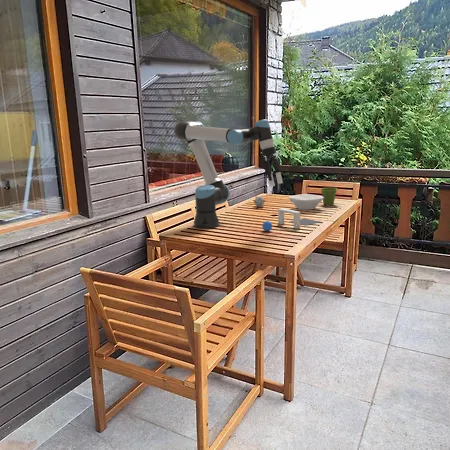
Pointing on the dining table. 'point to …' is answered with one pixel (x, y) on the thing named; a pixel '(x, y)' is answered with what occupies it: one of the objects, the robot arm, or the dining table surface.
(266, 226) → the ball
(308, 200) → the bowl
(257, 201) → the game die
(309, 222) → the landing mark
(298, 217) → the bridge
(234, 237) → the dining table surface
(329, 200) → the plant pot
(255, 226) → the dining table surface
